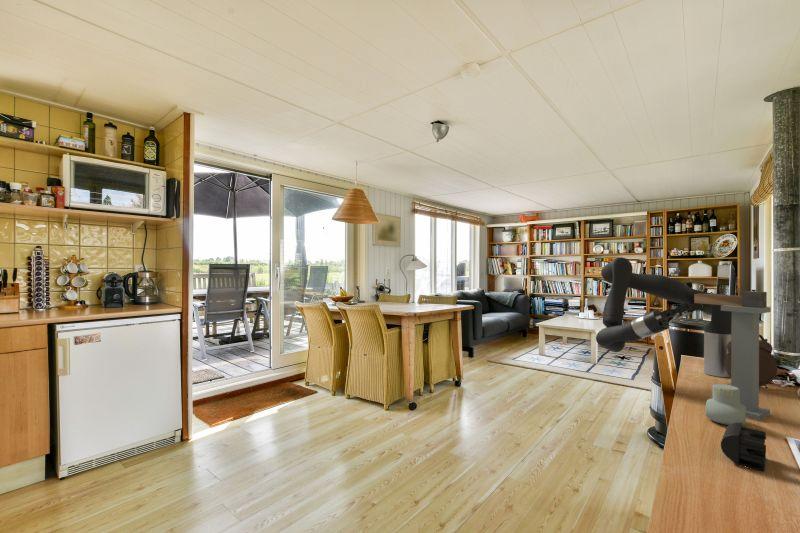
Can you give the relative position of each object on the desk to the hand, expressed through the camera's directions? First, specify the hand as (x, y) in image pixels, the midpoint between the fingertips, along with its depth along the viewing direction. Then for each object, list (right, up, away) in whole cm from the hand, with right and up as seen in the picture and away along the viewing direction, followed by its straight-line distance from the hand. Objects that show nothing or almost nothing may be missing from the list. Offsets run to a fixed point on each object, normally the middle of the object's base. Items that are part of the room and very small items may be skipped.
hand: (695, 304), depth 126 cm
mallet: (+4, +1, -7) cm, 8 cm away
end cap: (-20, -31, -40) cm, 54 cm away
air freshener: (-6, -31, -18) cm, 37 cm away
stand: (+6, -31, -11) cm, 34 cm away
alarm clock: (+31, -32, +15) cm, 47 cm away
